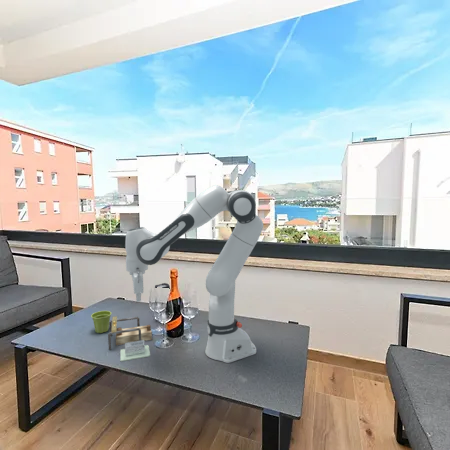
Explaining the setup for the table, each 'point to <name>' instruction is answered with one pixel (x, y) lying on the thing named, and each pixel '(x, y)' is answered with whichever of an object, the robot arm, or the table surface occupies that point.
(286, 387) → the table surface
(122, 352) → the sage mat
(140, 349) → the grey block with handle
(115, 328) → the brass bolt
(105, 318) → the plant pot
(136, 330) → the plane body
